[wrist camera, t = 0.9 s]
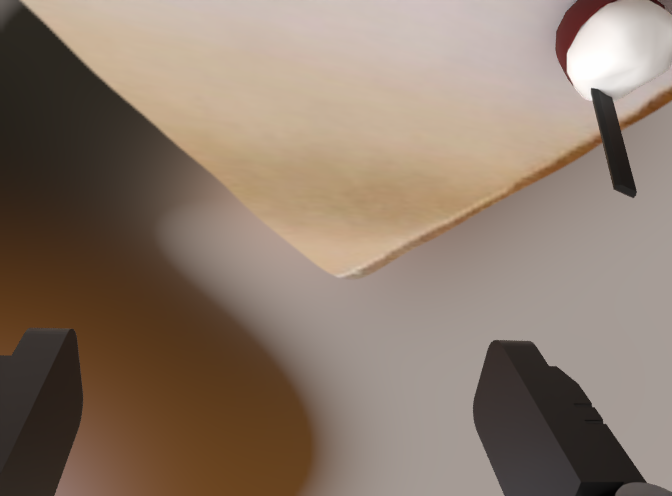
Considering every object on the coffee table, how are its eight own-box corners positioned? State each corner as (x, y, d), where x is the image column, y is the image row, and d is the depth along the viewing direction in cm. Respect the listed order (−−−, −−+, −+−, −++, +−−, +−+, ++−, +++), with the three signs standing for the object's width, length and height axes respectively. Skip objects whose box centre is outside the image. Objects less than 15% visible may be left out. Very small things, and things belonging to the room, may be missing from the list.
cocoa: (632, -63, 36) (773, 0, 26) (667, 17, 39) (803, 97, 30) (496, 45, 39) (580, 135, 29) (540, 110, 42) (627, 209, 33)
